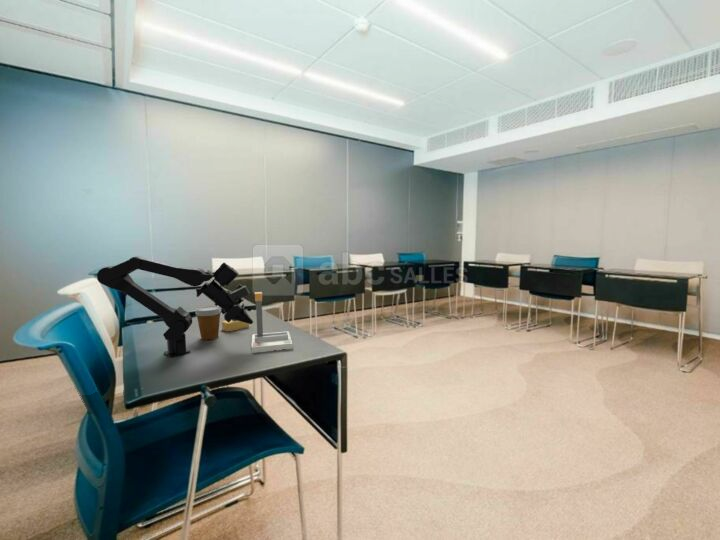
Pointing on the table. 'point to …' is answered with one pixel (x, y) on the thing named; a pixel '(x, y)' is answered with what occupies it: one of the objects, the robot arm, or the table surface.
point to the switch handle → (259, 313)
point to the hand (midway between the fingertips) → (252, 323)
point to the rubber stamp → (234, 325)
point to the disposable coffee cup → (208, 321)
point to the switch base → (271, 342)
